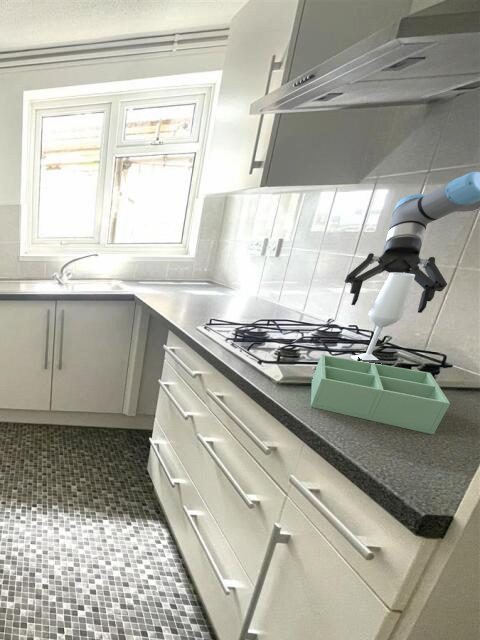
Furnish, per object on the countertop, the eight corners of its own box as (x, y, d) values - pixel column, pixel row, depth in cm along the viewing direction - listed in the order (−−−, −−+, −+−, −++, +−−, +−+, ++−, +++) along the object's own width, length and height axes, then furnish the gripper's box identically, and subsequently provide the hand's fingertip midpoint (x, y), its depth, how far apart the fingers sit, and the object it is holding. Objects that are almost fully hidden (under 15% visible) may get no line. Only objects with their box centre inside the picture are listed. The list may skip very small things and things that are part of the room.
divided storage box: (416, 400, 94) (430, 372, 92) (433, 434, 81) (450, 403, 78) (311, 379, 105) (321, 354, 102) (310, 406, 91) (321, 378, 88)
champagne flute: (347, 354, 122) (381, 271, 112) (377, 358, 119) (414, 273, 110) (354, 361, 117) (390, 274, 107) (385, 365, 114) (425, 276, 104)
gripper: (459, 256, 114) (445, 321, 110) (342, 249, 128) (325, 306, 124) (474, 237, 108) (460, 304, 104) (349, 232, 122) (332, 291, 118)
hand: (386, 306), depth 114 cm, fingers open, 13 cm apart
